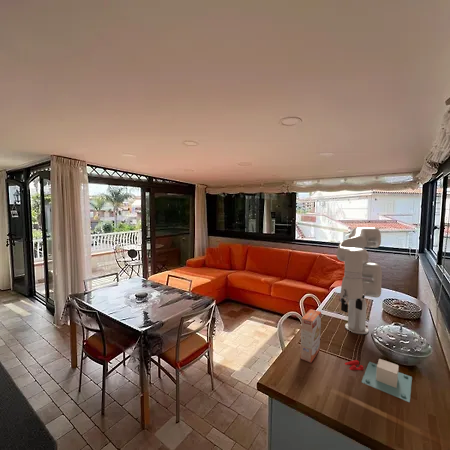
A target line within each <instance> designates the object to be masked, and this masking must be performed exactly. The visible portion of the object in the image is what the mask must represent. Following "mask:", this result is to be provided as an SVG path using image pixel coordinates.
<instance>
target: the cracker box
mask: <svg viewBox="0 0 450 450" xmlns="http://www.w3.org/2000/svg"><path fill="white" fill-rule="evenodd" d="M321 324H322V311H319V310H315V309H309V310H308V311H307V312H306V313H305V314H304V315H303V316H302V317H301V329H300V330H301V331H300V332H301V333H300V355H299V356H300V359H301V360H302V361H304V362H305V361H306V362H308V363H312V362H313V361H314V359H315V357H316V356H317V354H318V353H319V351H320V350H321V349H320V348H321V346H320V343H321V327H322V325H321Z"/></svg>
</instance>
